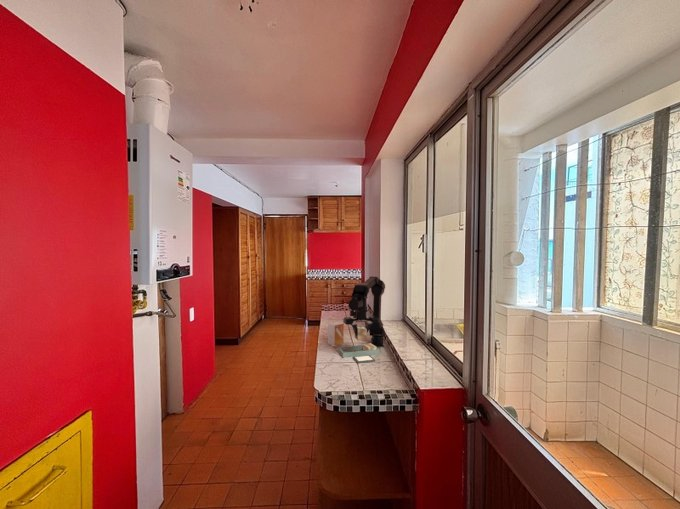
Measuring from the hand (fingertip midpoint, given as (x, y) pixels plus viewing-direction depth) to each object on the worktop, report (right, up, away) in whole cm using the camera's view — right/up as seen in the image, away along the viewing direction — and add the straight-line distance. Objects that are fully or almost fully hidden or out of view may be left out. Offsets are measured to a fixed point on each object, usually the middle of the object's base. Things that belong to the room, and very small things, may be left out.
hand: (360, 336), depth 167 cm
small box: (-14, -12, +26) cm, 32 cm away
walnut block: (0, -2, 0) cm, 2 cm away
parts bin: (-1, -12, +9) cm, 15 cm away
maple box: (+6, -12, +11) cm, 18 cm away
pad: (+1, -12, -2) cm, 13 cm away
